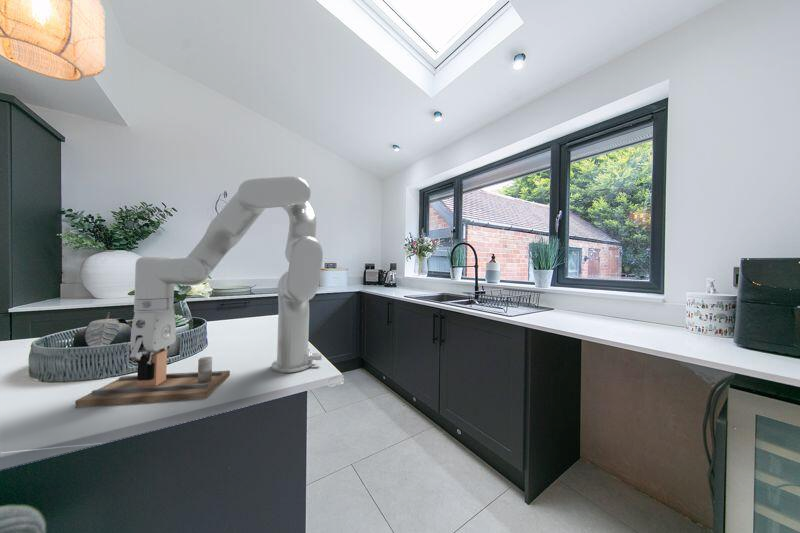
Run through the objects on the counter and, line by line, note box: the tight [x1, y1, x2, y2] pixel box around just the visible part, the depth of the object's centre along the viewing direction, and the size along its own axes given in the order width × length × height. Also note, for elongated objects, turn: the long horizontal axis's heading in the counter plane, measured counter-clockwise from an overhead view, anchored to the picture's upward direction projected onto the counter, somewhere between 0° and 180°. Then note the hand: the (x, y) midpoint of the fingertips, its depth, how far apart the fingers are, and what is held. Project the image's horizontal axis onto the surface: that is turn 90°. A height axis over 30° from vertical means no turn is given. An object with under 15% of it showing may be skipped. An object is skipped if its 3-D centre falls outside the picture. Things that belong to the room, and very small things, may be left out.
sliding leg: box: [137, 350, 168, 387], centre depth 69 cm, size 4×4×9 cm
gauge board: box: [74, 356, 231, 408], centre depth 70 cm, size 26×14×8 cm, turn 102°
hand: (152, 375), depth 69 cm, fingers closed on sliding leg, 4 cm apart
